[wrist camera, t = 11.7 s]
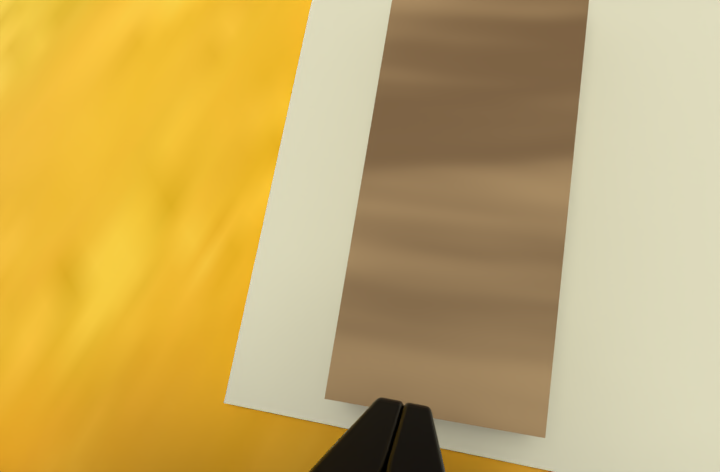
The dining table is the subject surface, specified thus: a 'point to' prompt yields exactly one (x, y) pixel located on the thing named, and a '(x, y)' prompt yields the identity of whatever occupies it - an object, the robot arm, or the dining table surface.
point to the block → (464, 212)
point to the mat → (581, 251)
